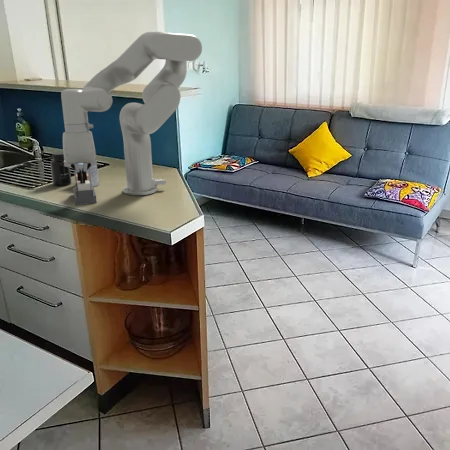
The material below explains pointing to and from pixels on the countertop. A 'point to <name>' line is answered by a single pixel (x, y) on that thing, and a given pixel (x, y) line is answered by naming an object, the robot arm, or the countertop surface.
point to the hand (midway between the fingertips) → (82, 182)
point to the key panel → (84, 195)
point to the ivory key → (83, 185)
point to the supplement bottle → (60, 170)
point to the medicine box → (90, 174)
